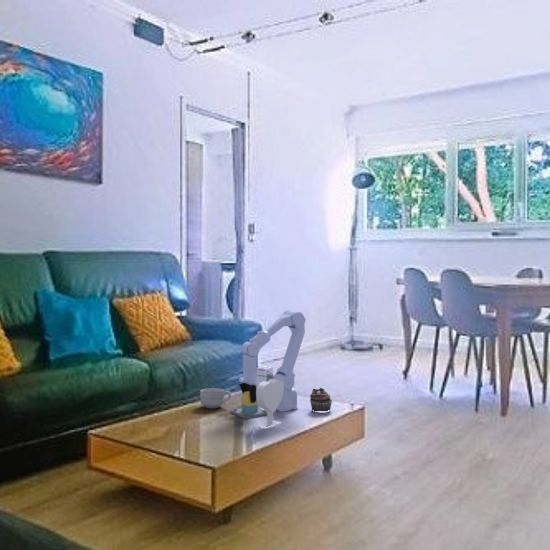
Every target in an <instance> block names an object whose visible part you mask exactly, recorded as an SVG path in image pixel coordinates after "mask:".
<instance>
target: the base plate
mask: <svg viewBox="0 0 550 550" xmlns="http://www.w3.org/2000/svg"><path fill="white" fill-rule="evenodd" d="M230 414H232V415H235V416H238V417H240V418H242V419H244V420H248V419H252V418H253V419H254V418H257V417H258V418H260V417H264V416H263V415H266V416H267V412H266V411H265V410H264V409H262V408H261V407H260V408H259V404H258V405H252V406H246V405H243V404H242V403H241V407H240V408H233V409H230ZM259 416H260V417H259Z"/></svg>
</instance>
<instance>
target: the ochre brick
mask: <svg viewBox="0 0 550 550" xmlns="http://www.w3.org/2000/svg"><path fill="white" fill-rule="evenodd" d="M242 404H243V405H246V406H252V405H258V406H259V404H258V402H257V399H256V402H255V403H251V401H250V393H249V391H247V392H244V393H242V392H241V405H242Z"/></svg>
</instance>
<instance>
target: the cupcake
mask: <svg viewBox="0 0 550 550" xmlns="http://www.w3.org/2000/svg"><path fill="white" fill-rule="evenodd" d="M309 396H310V398H309V399H310V400H309V401H310V402H309V403H310V406H311V411H312V410H314V411H328V410H330V411H331V408H332V403H333V400H332V399H331V395H330V394H329V393H328V392H327V391H326V390H325V388H322V387H319V389H316V388H313V389H312V391H311V394H310V395H309Z"/></svg>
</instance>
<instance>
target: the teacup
mask: <svg viewBox="0 0 550 550" xmlns="http://www.w3.org/2000/svg"><path fill="white" fill-rule="evenodd" d="M199 392H200V404H201V405H202V406H203V407H204V408H205V407H206V409H218V408H220V407H222V405H223V404H225V403H226V402H228V401H229V400H230V399H231V398H232V393H231V392H230V391H229V390H224V389H223V388H218V387H217V388H216V387H213V388H212V387H211V388H204V389H200V390H199ZM226 394H228V397H227V398H226V399H224V398H225V395H226Z"/></svg>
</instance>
